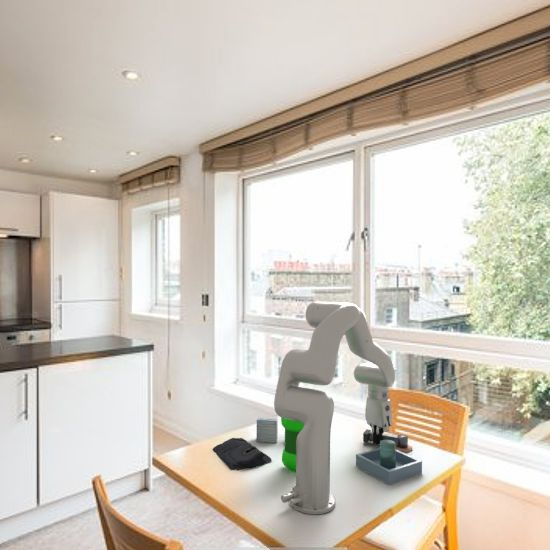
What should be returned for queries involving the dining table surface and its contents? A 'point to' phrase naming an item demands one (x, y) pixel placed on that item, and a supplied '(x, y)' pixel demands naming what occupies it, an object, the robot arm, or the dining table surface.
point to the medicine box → (267, 429)
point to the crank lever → (387, 438)
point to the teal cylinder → (388, 454)
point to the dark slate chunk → (240, 454)
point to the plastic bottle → (290, 442)
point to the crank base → (404, 449)
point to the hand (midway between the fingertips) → (377, 443)
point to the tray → (403, 470)
